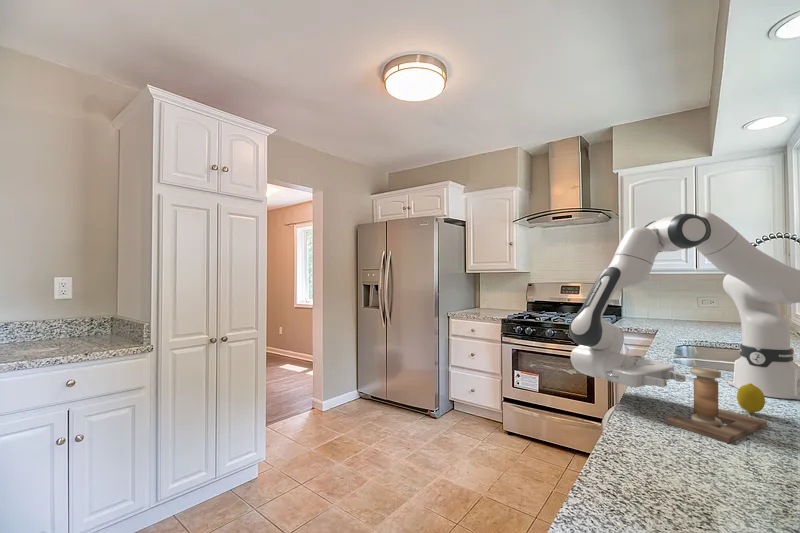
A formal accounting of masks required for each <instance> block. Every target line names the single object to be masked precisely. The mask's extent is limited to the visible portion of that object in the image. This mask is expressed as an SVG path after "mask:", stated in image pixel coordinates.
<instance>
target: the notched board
mask: <svg viewBox="0 0 800 533" xmlns="http://www.w3.org/2000/svg"><path fill="white" fill-rule="evenodd" d="M693 414H697V413H696V412H694V411H693ZM715 418H718V419H720V420H721V423H724V424H726V425H723V426H721V427H720V428H718V427H715V426H711V425H708V424H705V423H701V422H698V421H695V420H691V418H687V417H684V416H681V415H677V414H676V415H673V416H670V417H668V418H666V424H668V425H669V426H670V425H671V426H674V427H677V428H679V429H682V430H683V429H684V430H686V431H689V432H692V433H695V434H698V435H701V436H704V437H708V438H711V439H714V440H717V441H720V442H723V443H725V444H730V443H733V442H735V441H737V440H739V439H742V438H744V437H746V436H748V435H751V434H752V433H755V432H757V431H759V430H761V429H764V428H766V427H768V421H767V420H763V419H761V418H756V417H752V416H748V415H745V414H741V413H737V412H733V411H731V410H726V409H722V408H719V407H718V416H715Z"/></svg>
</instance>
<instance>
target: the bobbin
mask: <svg viewBox="0 0 800 533" xmlns="http://www.w3.org/2000/svg"><path fill="white" fill-rule="evenodd" d="M690 371H691V372H690V373H691V374H692V375H694V376H696V377H694V378H693V414H691V416H690V417H691V418H690V419H691V420H695V421H698V422H701V423H705V424H708V425H711V426H715V427H718V428H721V427H722V422H721V420H720V419H718V418H715V416H718V408H719V381H717V380H716V379H720V378H721V377H722V371H721V370H718V369H715V368H711V367H703V366H702V367H701V366H694V367H691V368H690ZM694 412H696V413H697V414H694Z"/></svg>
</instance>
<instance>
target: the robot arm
mask: <svg viewBox="0 0 800 533" xmlns="http://www.w3.org/2000/svg"><path fill="white" fill-rule="evenodd" d="M692 248H696V250H697V251H698V252H699V253H700V254H701V255H702V256H704V257H705V258H706V259H707V260H708V261H709V262H710V263H711V264H712V265H714V267H715V268H716V269H718V271H719V272H721V273H724V274H726V275H725V276H724V277H723V281H722V287H723V290H724V291H725V293H726V294H727V295H728V296H729V297H730V298H731V299H732V301H733V302H734V305H735V307H736V309H737V312H738V315H739V320H740V324H741V325H740V326H741V343H740V344H739V355H740V357H739V358H737V359H736V360H735V361H734V366H733V367H734V368H733V380H728V382H727V383H728V385H730V386H733V387H734V388H736V389H737V390H739V388H740V387H741V386H743V385H747V384H749V383H750V384H753V385H754V386H756V387H758V388H759V389H760V390H761V391H762V392H763V394H764V397H769V398H776V399H788V400H791V399H792V400H799V401H800V369H799V368H798V367H797V364H796V365H795V363H794V353H795V349H794V348H792V347H791V325H790V323H789V321H788V320H787V319H786V318H785V317H783V316H782V315H781V314H780V312H779V310H778V309H777V307H776V305H777V304H778V305H790V304H797V303H799V304H800V269H797V268H794V267H792V266H790V265H788V264H785V263H783V262H781V261H779V260H778V259H776V258H774V257H772V256H770V255H769V254H766V253H765V252H763V251H762V250H760V249H758V248H757V247H756V246H754V245H753V244H752V243H751V242H750V241H749V240H747V239H746V238H745V237H744V236H743V235H742V234H741V233H740V232H738V230H736V229H735V228H734V227H733V226H732V225H730V224H729V223H728V222H727V221H725V220H724V219H723V218H721V217H719V216H717V215H715V214H714V213H711V212H707V211H706V212H705V211H704V212H699V213H696V214H694V213H679V214H676V215H669V216H666V217H663V218H660V219H657V220H654V221H651V222H649V223H647V224H646V225H644V226H635V227H631V228H630V229H629V230H627V231H626V232H625V234H624V236H623V237H622V238H621V240H620V242H619V244H618V246H617V248H616V251H615V253H614V255H613V257H612V259H611V261H610V263H609V265H608V266H607V267H606V268H604V269H603V270H602V271H601V272H600V274H599V275H598V276H597V278H596V279H595V281H594V283H593V286H592V287H591V289H590V291H589V292H588V295H587V297H586V299H585V300H584V302H583V304H582V306H581V308H579V310H578V311H577V313H575V315H574V316H573V318H571V320H570V323H569V326H568V328H569V329H568V332H569V336H570V338H571V340H572V341H573V342H574V343H576V344H577V345H578V346H576V347H574V348H573V349H572V350H571V353H570V362H571V365H572V367H573V368H574V369H575V370H576V371H578V372H579V373H581V374H583V375H586V376H589V377H592V378H596V379H605V380H606V381H608V382H612V383H614V384H617V385H618V384H619V385H622V386H627V387H629V388H640V387H645V386H655V387H661V388H664V387H667V385H668V383H667V382H668V381H670V380H674V381H675V382H678V383H679V382H680V383H684V382H686V380H687V379H686V378H687V377H686V375H684V374H681V373H678V372H676V371H675V367H674V366H672V365H671V364H667V363H664V362H660V361H656V360H651V359H647V358H646V359H645V356H643V355H642V356H641V355H631V354H626V353H621V350H622V347H623V344H624V340H625V338H624V333H623V330H622V329H621V328H620V327H619V326H618V325H616V324H614V323H611V322H609V321H607V320H605V319H603V315H604V313H605V311H606V309H607V307H608V306H609V304H610V302H611V299H612V297H613V296H614V295H615V293H617V291H619V290H622V289H630V288H636V287H638V286H640V285H642V284H644V283H645V282H646V281H647V278H648V277H649V276H650V273H651V270H652V268H653V266H654V263H655V259H656V258H657V257H656V256H657V255H658V254H659V253H663V252H664V253H665V252H666V253H667V252H675V251H680V250H684V249H692Z"/></svg>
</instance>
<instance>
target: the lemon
mask: <svg viewBox="0 0 800 533" xmlns="http://www.w3.org/2000/svg"><path fill="white" fill-rule="evenodd" d="M765 397H766V396H764V394H763V392H762V391H761V390H760V389H759V388H758V387H756V386H754V385H753V384H750V383H749V384H747V385H743V386H741V387H740V388H739V389H737V393H736V401H737V403H738V405H739V406H740V408H742V409H743V410H745V411H746V412H748V414H751V415H752V414H754V413H758V412H760V411H762V410H763V409H764V407H765V404H766V399H765Z"/></svg>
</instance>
